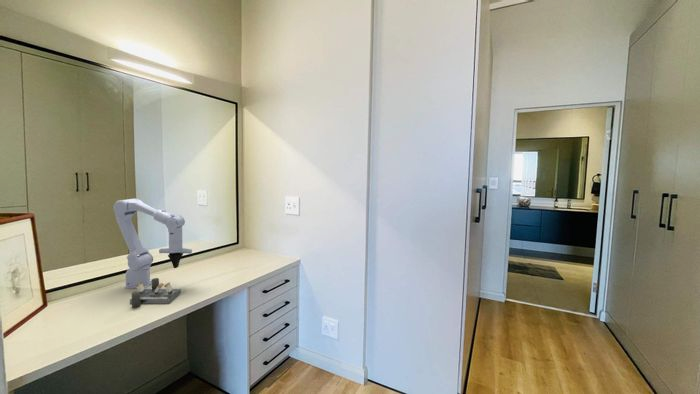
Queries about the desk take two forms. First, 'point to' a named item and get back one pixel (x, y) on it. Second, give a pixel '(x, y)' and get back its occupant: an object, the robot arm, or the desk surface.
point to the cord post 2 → (155, 283)
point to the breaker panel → (157, 296)
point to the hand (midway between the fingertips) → (176, 267)
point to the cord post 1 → (136, 299)
